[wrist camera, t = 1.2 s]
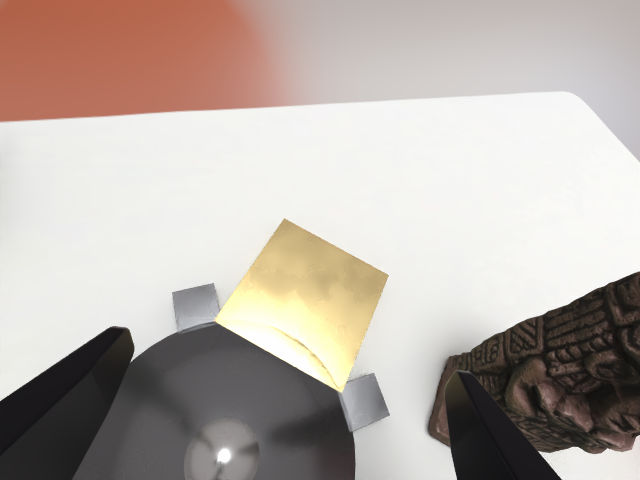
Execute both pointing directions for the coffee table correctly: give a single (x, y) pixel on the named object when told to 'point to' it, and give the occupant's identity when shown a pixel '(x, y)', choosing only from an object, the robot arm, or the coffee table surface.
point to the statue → (564, 373)
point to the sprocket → (252, 376)
